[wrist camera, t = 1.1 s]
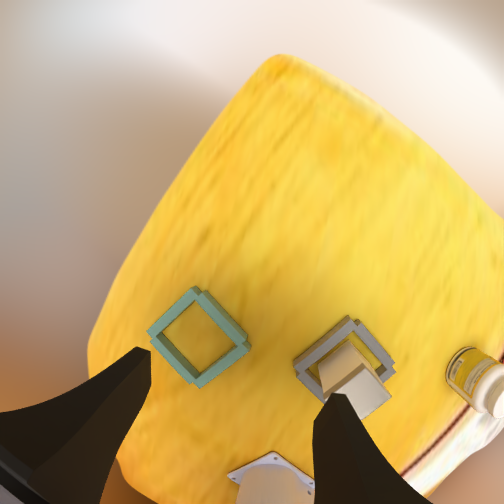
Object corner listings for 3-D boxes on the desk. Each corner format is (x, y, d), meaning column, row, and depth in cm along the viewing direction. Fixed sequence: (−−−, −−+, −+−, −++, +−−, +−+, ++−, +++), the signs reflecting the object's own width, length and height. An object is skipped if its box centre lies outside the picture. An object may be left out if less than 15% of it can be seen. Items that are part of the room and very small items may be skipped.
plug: (371, 364, 26) (391, 396, 19) (340, 388, 26) (352, 426, 19) (348, 338, 26) (365, 367, 19) (316, 364, 27) (323, 399, 20)
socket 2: (395, 363, 25) (399, 368, 24) (336, 410, 26) (338, 417, 25) (351, 311, 26) (355, 315, 24) (289, 363, 27) (289, 370, 25)
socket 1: (254, 342, 27) (253, 347, 26) (200, 384, 28) (196, 391, 27) (199, 282, 28) (194, 284, 26) (149, 330, 28) (143, 334, 27)
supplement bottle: (480, 372, 24) (523, 405, 14) (446, 394, 25) (485, 435, 15) (477, 337, 24) (527, 365, 14) (442, 359, 25) (488, 397, 15)
